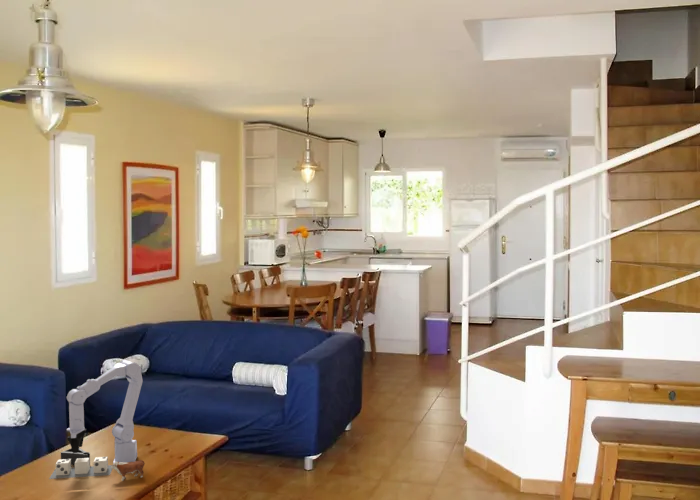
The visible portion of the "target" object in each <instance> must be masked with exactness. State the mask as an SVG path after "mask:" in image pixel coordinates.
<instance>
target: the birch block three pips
mask: <svg viewBox="0 0 700 500" xmlns="http://www.w3.org/2000/svg"><path fill="white" fill-rule="evenodd" d="M71 468H72V465H71V459H61V458H60V459H57V461H56V463H55V469H56V475H69V473H70V472H71Z"/></svg>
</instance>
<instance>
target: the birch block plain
mask: <svg viewBox="0 0 700 500" xmlns="http://www.w3.org/2000/svg"><path fill="white" fill-rule="evenodd" d="M90 465H91V462H90V463H89V458H77V459H76V461H75V465H74V467H75V474H88V472H89V470H90Z"/></svg>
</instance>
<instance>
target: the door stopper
mask: <svg viewBox="0 0 700 500" xmlns="http://www.w3.org/2000/svg"><path fill="white" fill-rule="evenodd" d="M77 458H89V463H90V464H91V453H90V451H89V452H88V451H85V450H84V449H82V447H79V451H78V453H73V452H72V448H71V447H70V448H68V449H66V450H63V451H61V452H60V459H71V466H75V461H76V459H77Z"/></svg>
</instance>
